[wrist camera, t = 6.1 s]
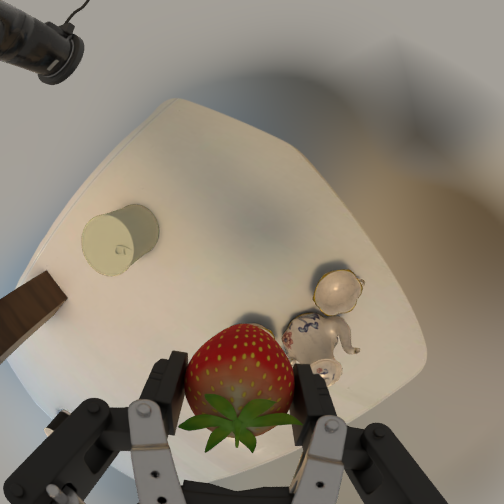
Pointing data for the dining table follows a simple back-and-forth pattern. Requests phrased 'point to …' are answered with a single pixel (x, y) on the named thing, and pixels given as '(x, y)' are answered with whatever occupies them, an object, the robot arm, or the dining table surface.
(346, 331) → the chinaware
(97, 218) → the can
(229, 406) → the fruit
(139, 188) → the dining table surface
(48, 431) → the dixie cup
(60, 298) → the plinth
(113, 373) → the dining table surface
